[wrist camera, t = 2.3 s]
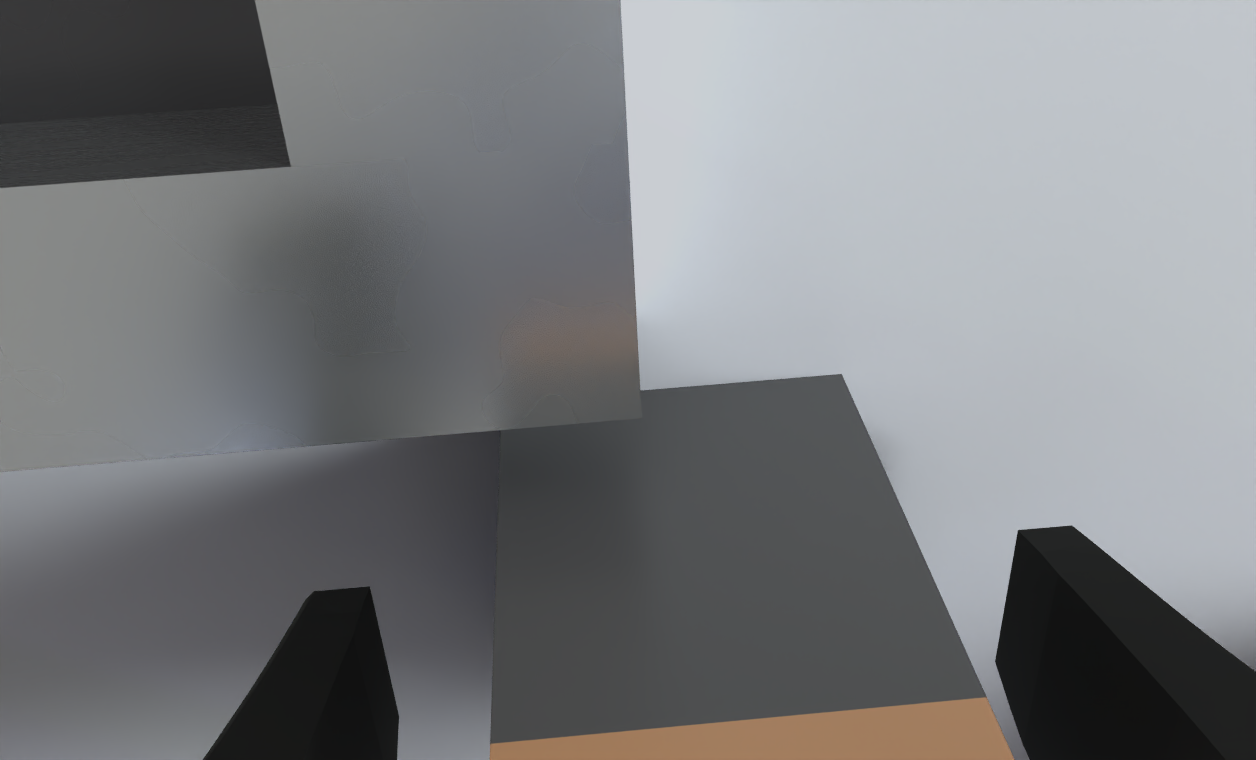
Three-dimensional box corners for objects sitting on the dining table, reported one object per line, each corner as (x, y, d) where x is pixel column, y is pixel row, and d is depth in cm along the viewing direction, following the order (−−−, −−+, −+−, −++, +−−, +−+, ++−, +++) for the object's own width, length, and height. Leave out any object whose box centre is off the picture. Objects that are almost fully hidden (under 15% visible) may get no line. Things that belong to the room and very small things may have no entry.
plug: (826, 622, 16) (971, 1084, 10) (533, 649, 15) (537, 1131, 10) (841, 373, 13) (1033, 801, 8) (501, 401, 13) (486, 854, 8)
